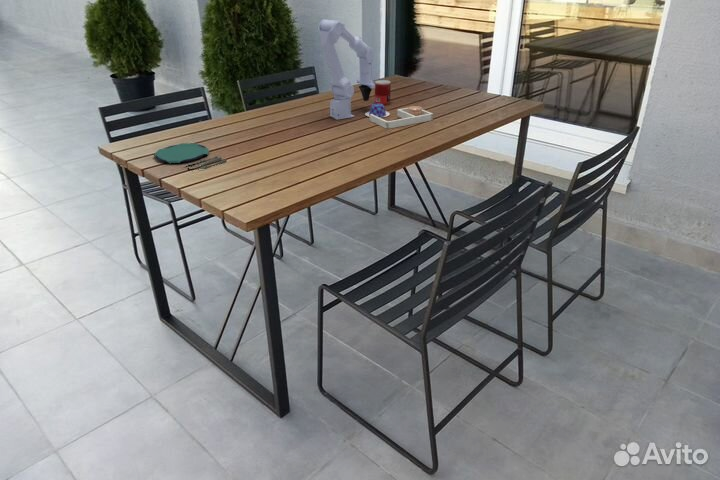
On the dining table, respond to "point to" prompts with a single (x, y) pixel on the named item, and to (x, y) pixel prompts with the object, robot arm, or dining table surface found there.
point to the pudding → (377, 111)
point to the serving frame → (406, 119)
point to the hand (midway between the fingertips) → (366, 100)
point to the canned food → (382, 92)
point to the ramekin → (415, 110)
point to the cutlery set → (185, 154)
